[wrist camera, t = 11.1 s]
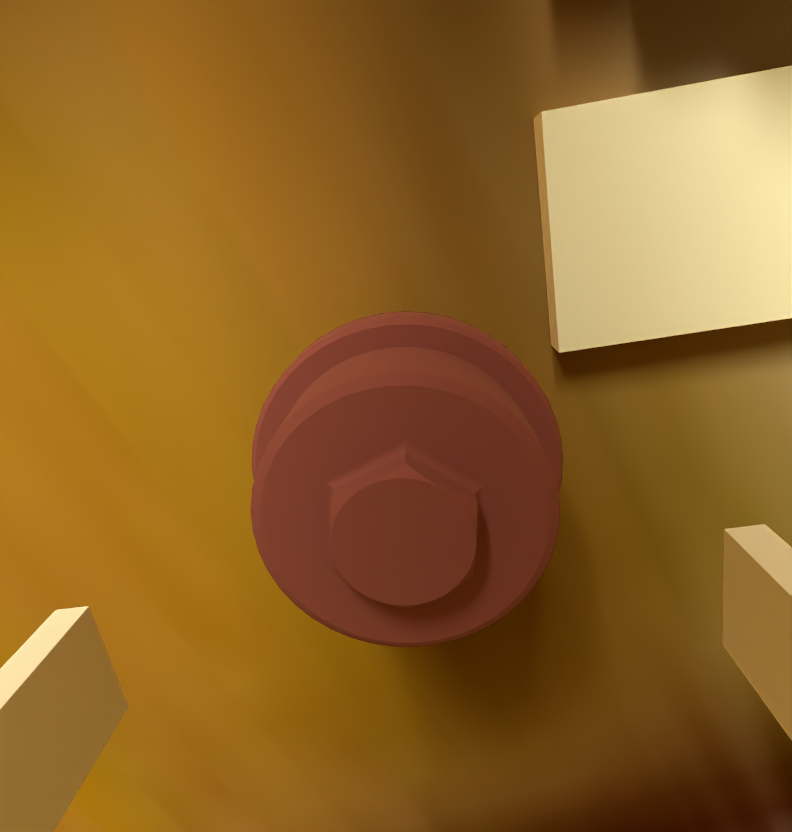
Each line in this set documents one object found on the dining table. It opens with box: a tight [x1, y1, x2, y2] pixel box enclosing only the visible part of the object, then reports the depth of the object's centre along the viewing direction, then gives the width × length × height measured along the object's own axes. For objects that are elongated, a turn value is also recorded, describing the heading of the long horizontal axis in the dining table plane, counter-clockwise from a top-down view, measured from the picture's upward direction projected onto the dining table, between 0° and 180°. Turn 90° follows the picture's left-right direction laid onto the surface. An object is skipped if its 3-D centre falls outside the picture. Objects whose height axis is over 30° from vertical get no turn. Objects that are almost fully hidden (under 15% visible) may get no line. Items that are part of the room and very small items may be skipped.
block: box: [533, 65, 792, 353], centre depth 22 cm, size 12×9×2 cm
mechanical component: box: [251, 312, 563, 647], centre depth 20 cm, size 12×10×10 cm
